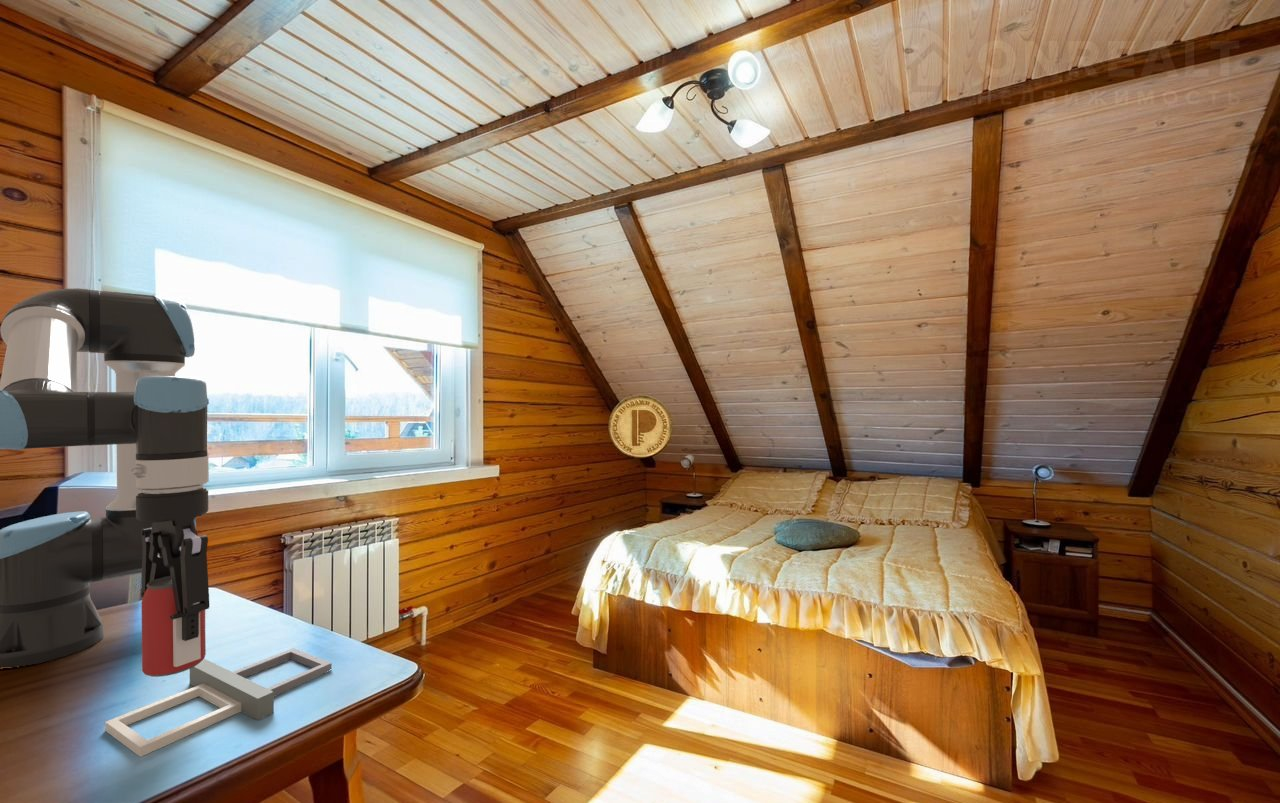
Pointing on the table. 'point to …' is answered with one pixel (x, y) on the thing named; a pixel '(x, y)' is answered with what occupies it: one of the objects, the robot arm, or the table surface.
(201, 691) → the double frame with crossbar
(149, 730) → the table surface
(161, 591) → the beer can
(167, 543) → the robot arm
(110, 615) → the table surface
